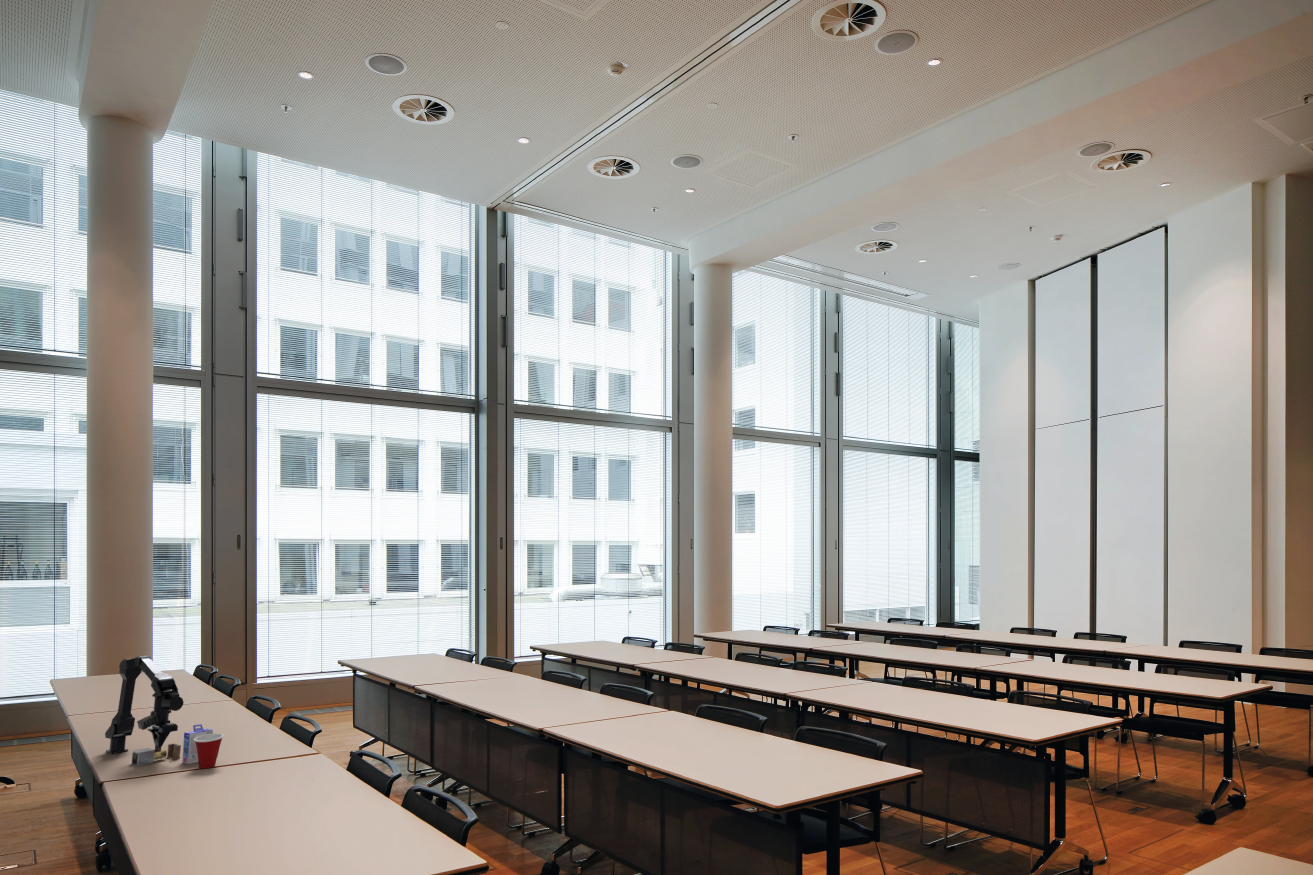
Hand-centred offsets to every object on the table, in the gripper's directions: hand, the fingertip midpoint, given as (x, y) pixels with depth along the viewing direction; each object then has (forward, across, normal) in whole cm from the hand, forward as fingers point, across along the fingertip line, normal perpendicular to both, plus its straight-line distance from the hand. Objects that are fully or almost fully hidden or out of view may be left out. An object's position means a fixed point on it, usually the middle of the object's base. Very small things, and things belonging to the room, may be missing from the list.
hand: (158, 746), depth 350 cm
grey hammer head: (+6, 0, -6) cm, 8 cm away
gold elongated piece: (+6, 0, -2) cm, 6 cm away
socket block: (+6, 0, +7) cm, 9 cm away
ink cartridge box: (+6, +13, +10) cm, 17 cm away
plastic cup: (+6, +25, +8) cm, 27 cm away
